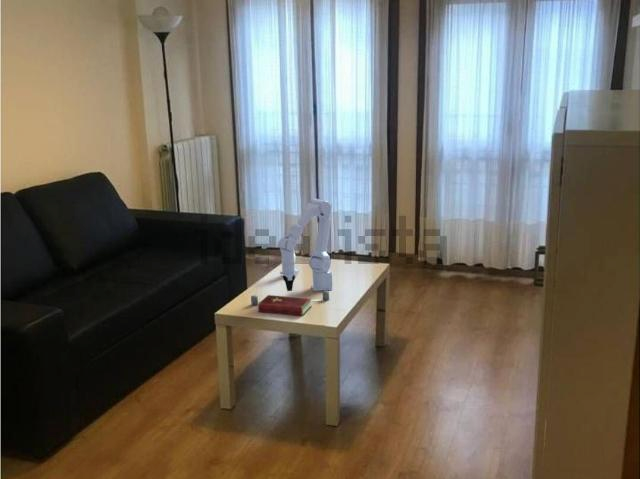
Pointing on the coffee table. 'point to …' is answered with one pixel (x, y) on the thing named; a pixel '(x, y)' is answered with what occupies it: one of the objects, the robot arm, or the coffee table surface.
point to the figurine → (296, 267)
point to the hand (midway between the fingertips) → (289, 290)
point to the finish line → (325, 298)
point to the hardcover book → (284, 305)
